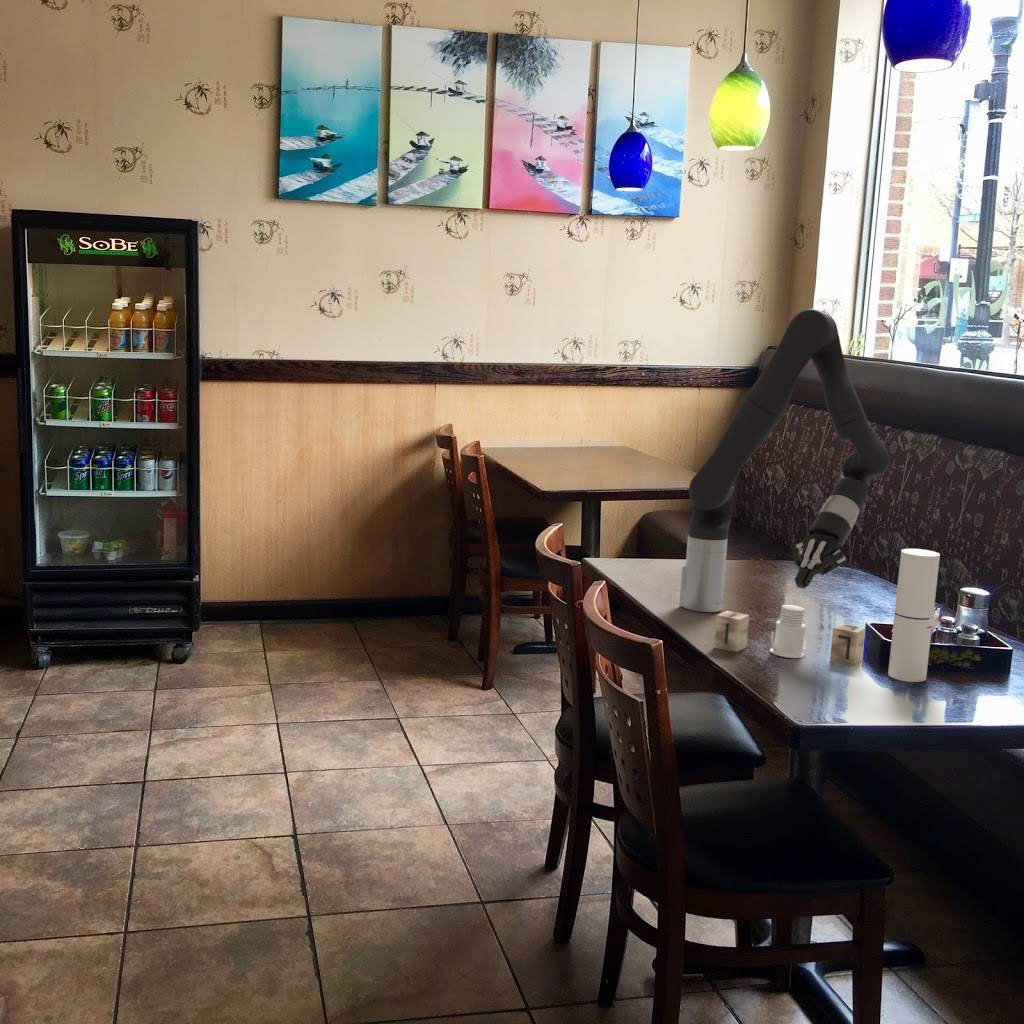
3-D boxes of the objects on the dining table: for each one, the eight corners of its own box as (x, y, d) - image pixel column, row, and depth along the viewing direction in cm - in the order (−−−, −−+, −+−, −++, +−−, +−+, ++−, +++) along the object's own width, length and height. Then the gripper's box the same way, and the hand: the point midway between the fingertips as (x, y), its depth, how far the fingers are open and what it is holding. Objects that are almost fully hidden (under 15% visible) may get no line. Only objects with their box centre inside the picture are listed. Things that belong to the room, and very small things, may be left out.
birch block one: (714, 647, 248) (716, 614, 247) (724, 642, 252) (727, 610, 251) (736, 652, 245) (739, 619, 244) (746, 647, 250) (749, 614, 248)
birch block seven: (829, 661, 243) (833, 627, 241) (838, 655, 247) (841, 622, 245) (853, 666, 240) (857, 632, 239) (862, 660, 244) (865, 627, 243)
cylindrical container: (880, 672, 236) (893, 549, 232) (909, 669, 239) (923, 548, 235) (904, 683, 230) (917, 556, 226) (933, 680, 232) (948, 555, 228)
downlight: (778, 659, 242) (784, 611, 240) (761, 649, 248) (767, 603, 247) (812, 659, 244) (819, 612, 242) (795, 649, 251) (801, 603, 249)
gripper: (801, 505, 254) (766, 569, 247) (858, 515, 245) (823, 581, 238) (812, 527, 258) (777, 590, 252) (868, 537, 249) (834, 602, 243)
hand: (799, 585), depth 245 cm, fingers closed
